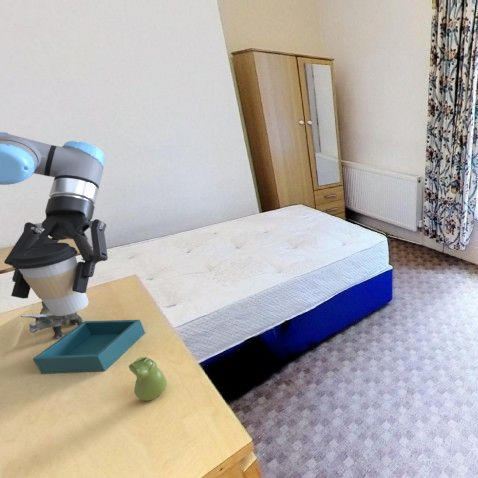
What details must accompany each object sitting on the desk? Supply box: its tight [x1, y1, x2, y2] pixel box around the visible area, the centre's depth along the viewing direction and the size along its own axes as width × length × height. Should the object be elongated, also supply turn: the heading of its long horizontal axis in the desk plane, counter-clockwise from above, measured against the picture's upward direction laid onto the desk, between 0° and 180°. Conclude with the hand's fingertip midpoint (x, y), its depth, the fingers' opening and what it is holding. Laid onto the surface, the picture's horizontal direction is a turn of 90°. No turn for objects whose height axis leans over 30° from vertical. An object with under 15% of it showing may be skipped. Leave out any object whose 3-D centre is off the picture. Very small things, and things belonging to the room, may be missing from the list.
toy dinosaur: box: [20, 300, 84, 340], centre depth 87 cm, size 22×8×11 cm, turn 42°
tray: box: [32, 319, 146, 375], centre depth 80 cm, size 14×14×5 cm
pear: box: [128, 356, 168, 402], centre depth 68 cm, size 6×5×10 cm
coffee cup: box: [12, 242, 90, 316], centre depth 71 cm, size 9×9×15 cm
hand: (49, 294), depth 68 cm, fingers closed on coffee cup, 9 cm apart
